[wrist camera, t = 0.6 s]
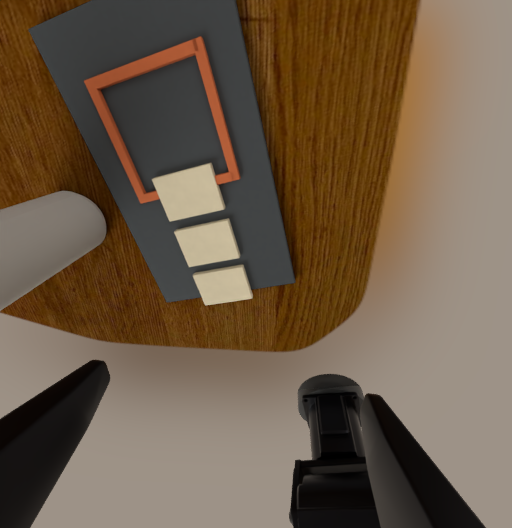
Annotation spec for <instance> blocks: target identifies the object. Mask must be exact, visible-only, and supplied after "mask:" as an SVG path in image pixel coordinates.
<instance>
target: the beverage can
mask: <svg viewBox="0 0 512 528" xmlns="http://www.w3.org/2000/svg"><path fill="white" fill-rule="evenodd" d="M105 236H106V222H105V218H104V216H103V214H102V212H101V210H100V209H99V208H98V207H97V205H96V204H95V203H93V202H92V201H91V200H90V199H88V198H86V197H84V196H82V195H79V194H77V193H74V192H71V191H60V192H56V193H52V194H49V195H46V196H43V197H40V198H37V199H33V200H30V201H27V202H24V203H21V204H17V205H14V206H11V207H8V208H5V209H1V210H0V311H1V310H2V309H4V308H5V307H7V306H8V305H10V304H11V303H13V302H14V301H16V300H17V299H19V298H20V297H22V296H23V295H25V294H26V293H28V292H29V291H31V290H32V289H34V288H35V287H37V286H38V285H40V284H41V283H43V282H44V281H46V280H47V279H49V278H50V277H52V276H53V275H55V274H56V273H58V272H59V271H61V270H62V269H64V268H65V267H67V266H68V265H70V264H71V263H73V262H74V261H76V260H77V259H79V258H80V257H82V256H83V255H85V254H86V253H88V252H89V251H91V250H92V249H94V248H95V247H97V246H98V245H100V244H101V243H102V241H103V240H104V239H105Z"/></svg>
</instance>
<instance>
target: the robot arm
mask: <svg viewBox="0 0 512 528" xmlns="http://www.w3.org/2000/svg"><path fill="white" fill-rule="evenodd" d="M109 381H110V374H109V371H108V368H107V365H106V363H105V362H104V361H100V360H92V361H89V362H88V363H86V364H85V365H83V366H82V367H80V368H79V369H77V370H75V371H74V372H72V373H71V374H69V375H68V376H66V377H64V378H63V379H61V380H60V381H58V382H57V383H55V384H54V385H52V386H51V387H49V388H47V389H46V390H44V391H43V392H42V393H40V394H38V395H37V396H35V397H34V398H32V399H30V400H29V401H27V402H26V403H24V404H23V405H21V406H19V407H18V408H16V409H15V410H13V411H12V412H10V413H9V414H7V415H6V416H4V417H3V418H1V419H0V528H30V527H31V525H32V524H33V522H34V520H35V518H36V517H37V515H38V513H39V512H40V510H41V508H42V506H43V504H44V503H45V501H46V499H47V498H48V496H49V494H50V493H51V491H52V489H53V487H54V486H55V484H56V482H57V480H58V479H59V477H60V475H61V474H62V472H63V470H64V468H65V467H66V465H67V463H68V462H69V460H70V458H71V456H72V455H73V453H74V451H75V449H76V448H77V446H78V444H79V442H80V441H81V439H82V437H83V436H84V434H85V432H86V430H87V428H88V426H89V424H90V422H91V420H92V418H93V416H94V414H95V412H96V410H97V408H98V405H99V403H100V401H101V399H102V397H103V395H104V392H105V390H106V388H107V386H108V384H109ZM302 403H303V407H304V411H305V415H306V418H307V422H308V426H309V428H310V437H311V451H312V460H304V461H301V460H295V469H294V472H293V485H292V498H291V508H290V513H289V519H290V522H291V523H292V525H293V526H294V528H486V527H485V526H484V525H483V523H481V521H480V520H479V518H478V517H477V516H476V515H475V513H474V512H473V511H472V510H471V508H470V507H469V506H468V505H467V503H466V502H465V501H464V500H463V498H462V497H461V496H460V495H459V493H458V492H457V491H456V490H455V488H454V487H453V486H452V485H451V483H450V482H449V481H448V480H447V478H446V477H445V476H444V475H443V473H442V472H441V471H440V470H439V469H438V467H437V466H436V465H435V463H434V462H433V461H432V460H431V459H430V457H429V456H428V455H427V453H426V452H425V451H424V450H423V448H422V447H421V446H420V445H419V443H418V442H417V441H416V440H415V439H414V437H413V436H412V435H411V433H410V432H409V431H408V430H407V428H406V427H405V426H404V425H403V423H402V422H401V421H400V419H399V418H398V417H397V416H396V415H395V413H394V412H393V411H392V409H391V408H390V407H389V406H388V404H387V403H386V402H385V401H384V400H383V398H382V397H381V396H380V395H376V394H369V393H368V394H366V395H365V397H364V400H363V402H362V405H361V408H360V402H359V395H358V393H357V392H342V393H326V394H310V395H303V396H302ZM361 427H362V431H361ZM362 434H363V435H362Z"/></svg>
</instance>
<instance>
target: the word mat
mask: <svg viewBox="0 0 512 528" xmlns="http://www.w3.org/2000/svg"><path fill="white" fill-rule="evenodd" d="M29 32H30V34H31V36H32V38H33V40H34V42H35V44H36V46H37V48H38V50H39V52H40V54H41V56H42V58H43V60H44V61H45V63H46V65H47V67H48V69H49V71H50V73H51V75H52V77H53V79H54V81H55V83H56V85H57V87H58V89H59V91H60V93H61V95H62V97H63V99H64V101H65V103H66V105H67V107H68V109H69V111H70V113H71V115H72V117H73V119H74V121H75V123H76V125H77V127H78V129H79V130H80V132H81V134H82V136H83V138H84V140H85V142H86V144H87V146H88V148H89V150H90V152H91V154H92V156H93V158H94V160H95V162H96V164H97V166H98V168H99V170H100V172H101V174H102V176H103V178H104V180H105V182H106V184H107V186H108V188H109V190H110V192H111V194H112V196H113V198H114V199H115V201H116V203H117V205H118V207H119V209H120V211H121V213H122V215H123V217H124V219H125V221H126V223H127V225H128V227H129V229H130V231H131V233H132V235H133V237H134V239H135V241H136V243H137V245H138V247H139V249H140V251H141V253H142V255H143V257H144V259H145V261H146V263H147V265H148V267H149V268H150V270H151V272H152V274H153V276H154V278H155V280H156V282H157V284H158V286H159V288H160V290H161V292H162V294H163V296H164V298H165V300H166V302H173V301H180V300H186V299H193V298H199V297H202V299H203V301H204V304H205V305H212V304H219V303H226V302H233V301H239V300H246V299H252V298H253V294H252V291H251V289H258V288H265V287H271V286H278V285H284V284H291V283H295V277H294V272H293V267H292V263H291V258H290V253H289V248H288V244H287V239H286V234H285V230H284V225H283V220H282V215H281V211H280V206H279V201H278V197H277V192H276V187H275V182H274V178H273V173H272V168H271V164H270V159H269V154H268V149H267V145H266V140H265V135H264V131H263V126H262V121H261V117H260V112H259V107H258V102H257V98H256V93H255V88H254V84H253V79H252V74H251V69H250V65H249V60H248V55H247V51H246V46H245V41H244V36H243V32H242V27H241V22H240V18H239V13H238V8H237V4H236V0H91V1H89V2H87V3H85V4H83V5H80V6H78V7H76V8H74V9H72V10H69V11H67V12H65V13H63V14H61V15H58V16H56V17H54V18H52V19H50V20H47V21H45V22H43V23H41V24H39V25H36V26H34V27H32V28H30V29H29Z"/></svg>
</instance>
